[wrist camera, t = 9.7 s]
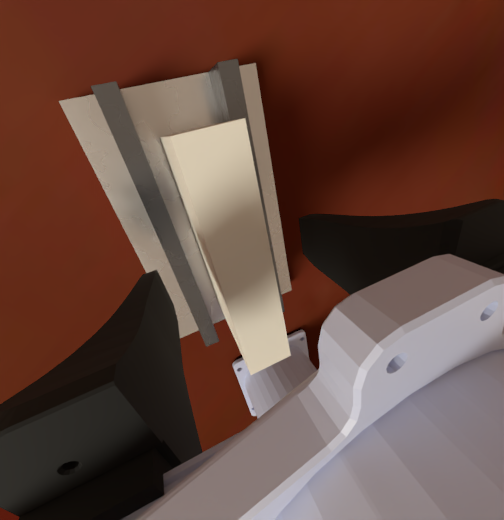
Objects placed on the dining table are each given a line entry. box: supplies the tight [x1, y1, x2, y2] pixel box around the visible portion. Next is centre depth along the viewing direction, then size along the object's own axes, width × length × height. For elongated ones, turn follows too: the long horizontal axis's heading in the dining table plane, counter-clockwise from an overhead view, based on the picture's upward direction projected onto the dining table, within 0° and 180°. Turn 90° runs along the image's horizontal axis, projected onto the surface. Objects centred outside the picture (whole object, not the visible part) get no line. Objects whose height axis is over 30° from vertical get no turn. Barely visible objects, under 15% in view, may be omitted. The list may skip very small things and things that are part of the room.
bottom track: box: [59, 59, 291, 347], centre depth 16 cm, size 16×10×3 cm, turn 12°
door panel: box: [159, 118, 291, 375], centre depth 14 cm, size 12×2×7 cm, turn 12°
